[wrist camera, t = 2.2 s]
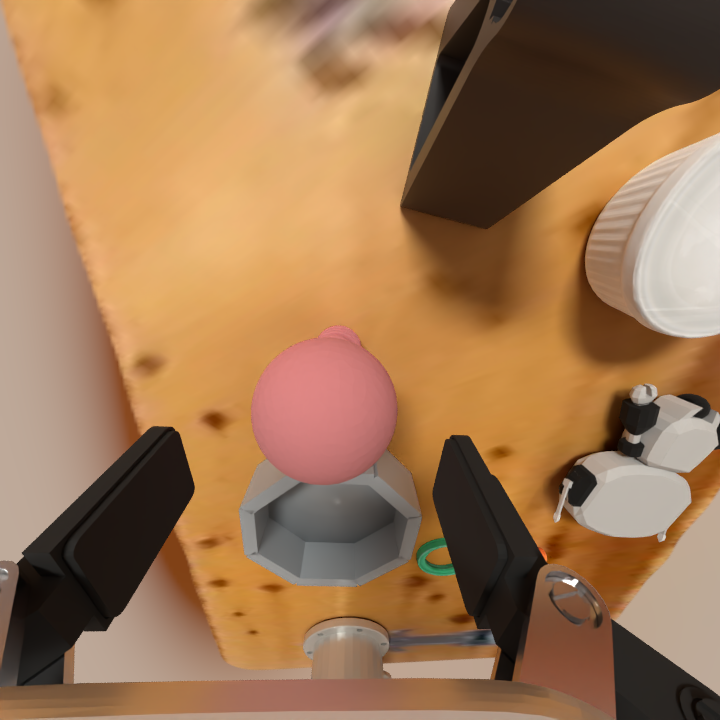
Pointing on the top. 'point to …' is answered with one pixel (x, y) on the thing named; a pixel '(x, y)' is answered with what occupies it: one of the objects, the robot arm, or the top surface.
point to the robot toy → (642, 466)
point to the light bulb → (324, 409)
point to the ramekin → (663, 244)
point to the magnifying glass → (439, 569)
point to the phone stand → (548, 93)
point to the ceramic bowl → (331, 524)
